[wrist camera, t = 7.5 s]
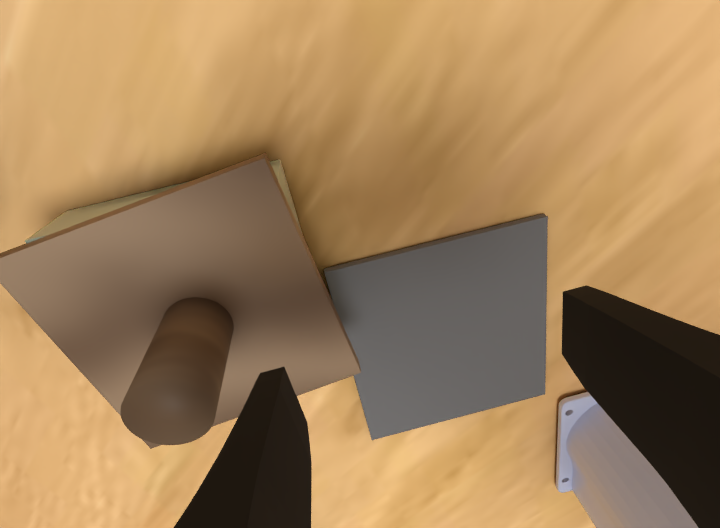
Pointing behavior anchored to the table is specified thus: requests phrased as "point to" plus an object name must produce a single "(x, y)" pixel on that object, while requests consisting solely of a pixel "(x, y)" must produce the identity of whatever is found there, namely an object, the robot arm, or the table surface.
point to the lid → (185, 302)
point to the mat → (447, 324)
